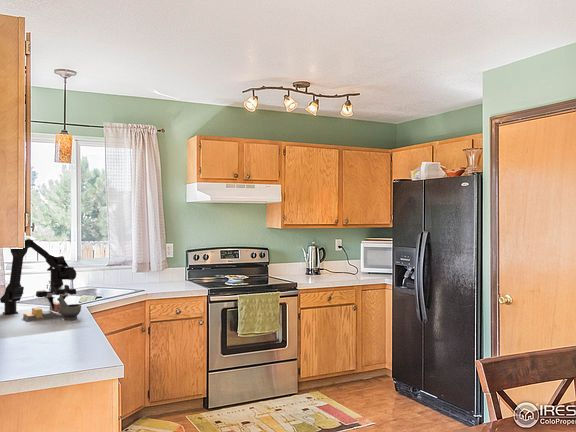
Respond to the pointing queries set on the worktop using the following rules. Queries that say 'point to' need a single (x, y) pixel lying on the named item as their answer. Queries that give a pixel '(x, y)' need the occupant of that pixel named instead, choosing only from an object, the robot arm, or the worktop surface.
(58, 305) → the brick plug
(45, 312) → the slot rack
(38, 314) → the ochre plug
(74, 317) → the mortar and pestle
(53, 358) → the worktop surface
